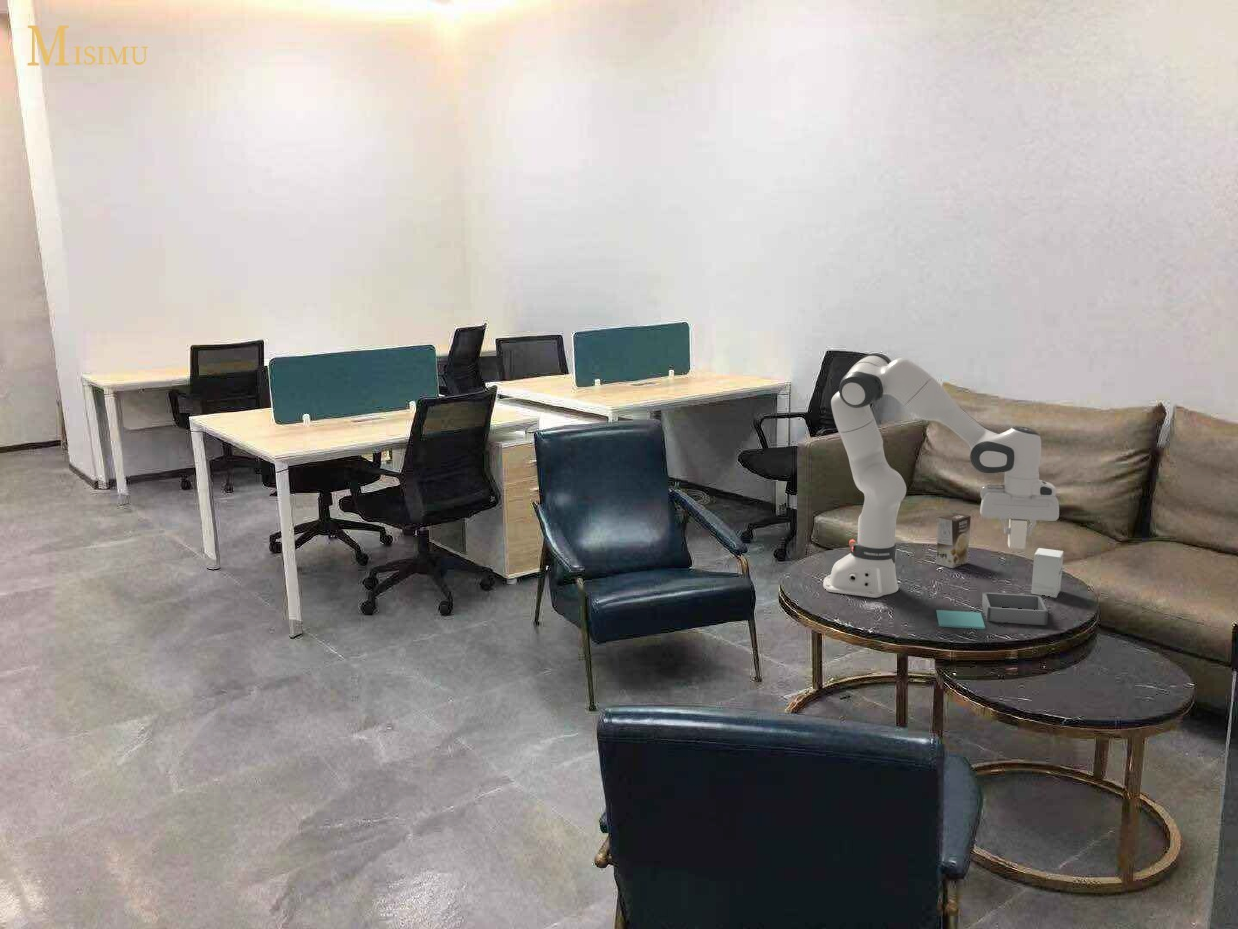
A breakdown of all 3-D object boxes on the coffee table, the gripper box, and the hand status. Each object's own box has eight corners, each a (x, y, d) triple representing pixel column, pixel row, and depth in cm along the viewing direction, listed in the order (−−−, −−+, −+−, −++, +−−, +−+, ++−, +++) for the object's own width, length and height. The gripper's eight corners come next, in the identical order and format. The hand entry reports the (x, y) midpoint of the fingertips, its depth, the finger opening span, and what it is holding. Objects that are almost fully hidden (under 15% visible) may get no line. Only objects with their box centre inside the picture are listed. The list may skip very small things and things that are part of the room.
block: (1009, 548, 274) (1011, 520, 272) (1007, 544, 278) (1009, 516, 276) (1025, 549, 273) (1027, 521, 271) (1022, 544, 277) (1024, 517, 275)
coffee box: (952, 568, 320) (955, 521, 316) (935, 564, 324) (937, 517, 321) (968, 562, 325) (971, 515, 322) (951, 558, 330) (953, 511, 326)
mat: (939, 626, 273) (939, 624, 273) (936, 611, 284) (936, 610, 283) (985, 629, 270) (985, 627, 270) (980, 614, 281) (980, 612, 281)
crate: (987, 621, 276) (987, 607, 275) (981, 605, 288) (982, 592, 287) (1046, 625, 272) (1048, 611, 271) (1039, 608, 284) (1040, 595, 283)
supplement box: (1057, 598, 292) (1060, 557, 289) (1030, 594, 296) (1033, 553, 293) (1061, 590, 298) (1064, 550, 296) (1034, 586, 302) (1038, 547, 299)
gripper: (982, 486, 271) (979, 535, 274) (1062, 490, 266) (1058, 539, 270) (979, 481, 277) (976, 528, 280) (1058, 484, 272) (1053, 532, 276)
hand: (1017, 534), depth 275 cm, fingers closed on block, 4 cm apart
